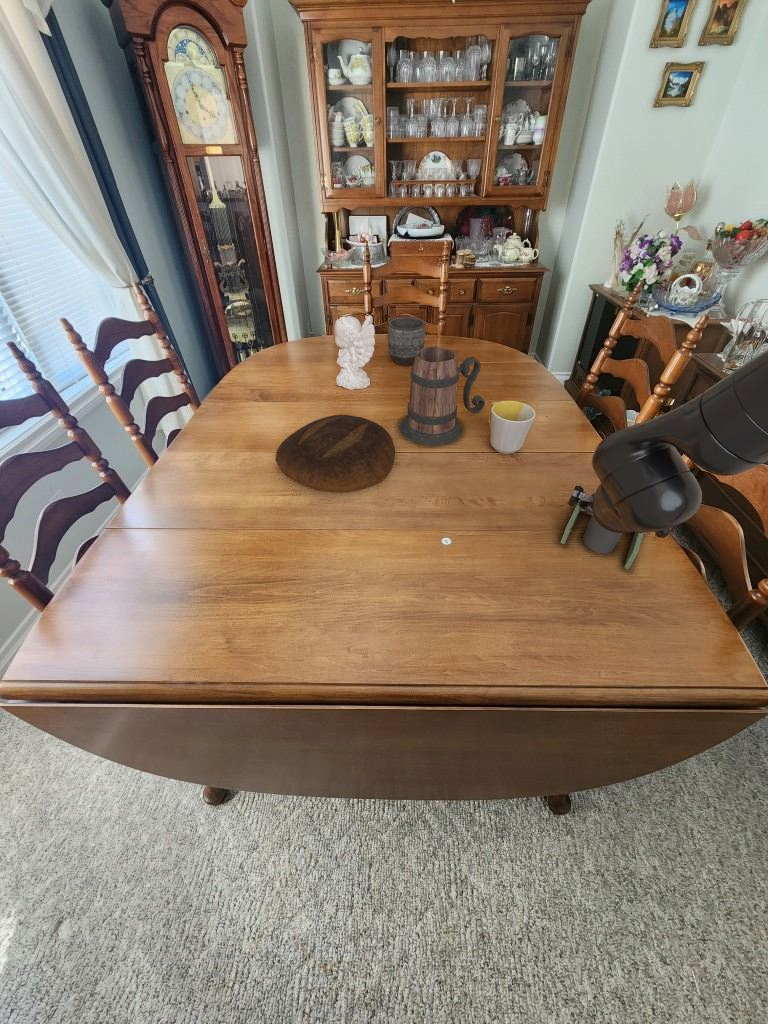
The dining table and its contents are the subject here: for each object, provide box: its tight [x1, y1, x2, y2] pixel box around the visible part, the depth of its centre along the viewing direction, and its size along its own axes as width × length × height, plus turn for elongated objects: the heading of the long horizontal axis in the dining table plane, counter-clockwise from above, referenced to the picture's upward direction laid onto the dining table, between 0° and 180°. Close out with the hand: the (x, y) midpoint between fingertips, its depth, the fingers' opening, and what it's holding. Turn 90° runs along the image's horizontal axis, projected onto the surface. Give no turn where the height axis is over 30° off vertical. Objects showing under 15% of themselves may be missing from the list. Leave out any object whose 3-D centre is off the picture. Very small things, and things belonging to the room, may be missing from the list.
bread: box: [275, 414, 396, 493], centre depth 101 cm, size 28×27×9 cm
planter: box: [387, 316, 426, 367], centre depth 143 cm, size 12×12×13 cm
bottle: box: [582, 515, 623, 554], centre depth 78 cm, size 6×6×15 cm
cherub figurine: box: [334, 314, 376, 391], centre depth 130 cm, size 13×12×20 cm
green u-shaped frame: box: [559, 493, 645, 570], centre depth 83 cm, size 12×12×4 cm
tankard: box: [399, 346, 486, 446], centre depth 109 cm, size 24×17×20 cm
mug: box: [487, 400, 537, 455], centre depth 105 cm, size 14×10×10 cm
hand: (613, 516), depth 71 cm, fingers open, 8 cm apart
